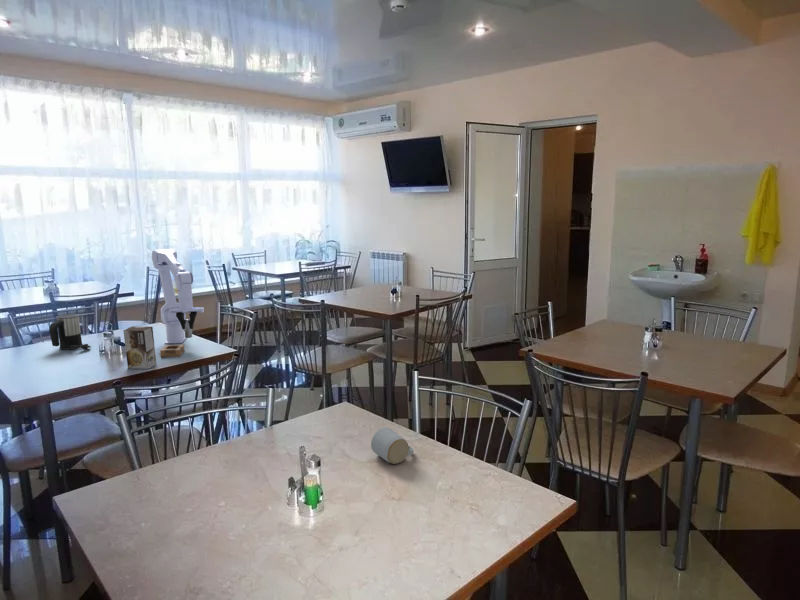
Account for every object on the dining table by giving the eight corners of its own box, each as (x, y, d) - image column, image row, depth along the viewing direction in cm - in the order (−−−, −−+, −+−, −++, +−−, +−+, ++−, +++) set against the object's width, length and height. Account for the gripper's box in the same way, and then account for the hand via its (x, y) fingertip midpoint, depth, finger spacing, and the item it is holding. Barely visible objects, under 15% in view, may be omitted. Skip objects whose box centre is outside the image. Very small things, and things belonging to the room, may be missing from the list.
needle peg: (186, 336, 239) (184, 319, 238) (192, 336, 240) (191, 318, 238) (184, 338, 236) (182, 320, 235) (191, 337, 237) (189, 320, 235)
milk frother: (67, 344, 248) (63, 313, 246) (101, 343, 249) (98, 313, 246) (48, 353, 234) (44, 320, 232) (85, 352, 235) (81, 320, 232)
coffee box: (157, 364, 219) (153, 326, 216) (148, 369, 213) (144, 330, 210) (136, 363, 220) (132, 325, 217) (126, 368, 214) (122, 329, 211)
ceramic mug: (388, 469, 136) (388, 441, 134) (370, 457, 142) (370, 430, 140) (420, 458, 142) (421, 431, 141) (401, 446, 148) (402, 420, 147)
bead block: (165, 351, 237) (165, 345, 236) (184, 350, 238) (184, 344, 237) (160, 357, 229) (160, 350, 228) (180, 356, 230) (179, 349, 229)
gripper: (165, 301, 230) (168, 331, 232) (200, 299, 232) (203, 330, 235) (169, 297, 236) (172, 327, 239) (203, 296, 239) (206, 326, 241)
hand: (187, 328), depth 237 cm, fingers closed on needle peg, 3 cm apart
